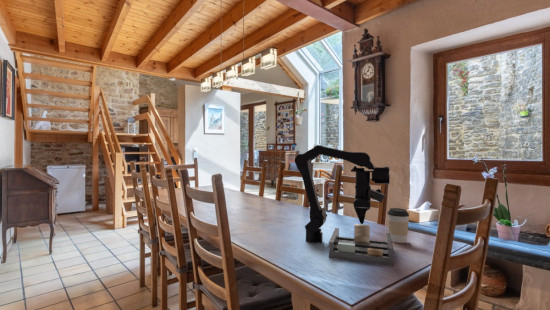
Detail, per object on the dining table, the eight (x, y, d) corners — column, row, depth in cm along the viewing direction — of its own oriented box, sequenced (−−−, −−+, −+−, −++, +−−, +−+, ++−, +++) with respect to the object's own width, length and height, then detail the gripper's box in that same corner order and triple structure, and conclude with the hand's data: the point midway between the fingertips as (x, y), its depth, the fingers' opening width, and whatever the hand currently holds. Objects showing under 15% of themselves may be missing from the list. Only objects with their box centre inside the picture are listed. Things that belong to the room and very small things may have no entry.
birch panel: (354, 246, 121) (354, 225, 120) (354, 245, 122) (354, 223, 122) (369, 248, 119) (369, 226, 119) (369, 247, 121) (369, 225, 120)
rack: (328, 260, 108) (329, 241, 108) (335, 244, 127) (335, 228, 127) (393, 268, 101) (393, 248, 101) (389, 250, 120) (390, 233, 120)
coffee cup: (407, 240, 133) (407, 207, 133) (410, 246, 125) (411, 211, 124) (385, 238, 136) (386, 206, 136) (387, 244, 127) (388, 210, 127)
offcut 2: (367, 260, 106) (367, 249, 106) (367, 258, 108) (367, 247, 107) (382, 262, 104) (382, 251, 104) (382, 260, 106) (382, 249, 106)
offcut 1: (337, 257, 109) (337, 243, 109) (338, 255, 111) (338, 242, 111) (354, 259, 107) (354, 245, 107) (354, 257, 109) (355, 243, 109)
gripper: (384, 186, 109) (384, 228, 109) (382, 181, 127) (382, 217, 127) (353, 185, 112) (353, 226, 112) (355, 180, 130) (355, 215, 130)
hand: (362, 221), depth 120 cm, fingers open, 9 cm apart
